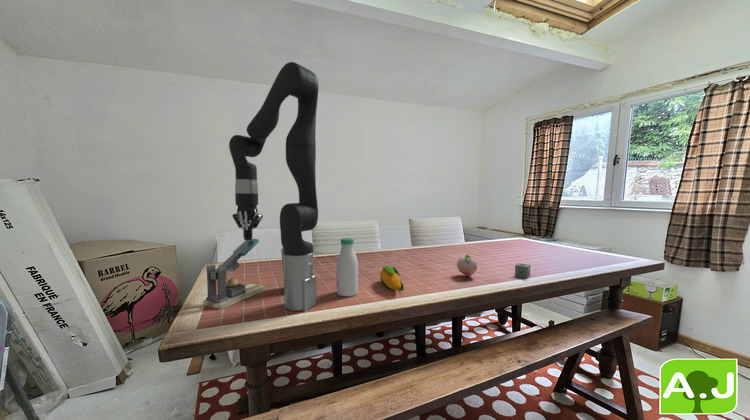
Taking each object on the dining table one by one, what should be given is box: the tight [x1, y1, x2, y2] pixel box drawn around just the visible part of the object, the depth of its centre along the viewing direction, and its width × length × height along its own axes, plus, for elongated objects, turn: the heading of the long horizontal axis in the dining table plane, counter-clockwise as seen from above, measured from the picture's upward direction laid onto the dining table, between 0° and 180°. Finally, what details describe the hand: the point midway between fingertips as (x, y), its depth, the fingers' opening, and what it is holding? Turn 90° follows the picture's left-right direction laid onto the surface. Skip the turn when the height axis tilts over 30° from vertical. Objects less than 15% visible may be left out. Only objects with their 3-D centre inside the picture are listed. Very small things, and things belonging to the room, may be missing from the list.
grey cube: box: [514, 262, 531, 279], centre depth 124 cm, size 5×5×5 cm
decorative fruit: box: [456, 253, 478, 278], centre depth 123 cm, size 9×8×10 cm
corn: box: [379, 265, 404, 292], centre depth 109 cm, size 7×8×20 cm
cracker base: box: [202, 264, 267, 310], centre depth 98 cm, size 8×19×13 cm, turn 157°
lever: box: [210, 238, 260, 281], centre depth 98 cm, size 5×17×11 cm, turn 157°
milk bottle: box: [336, 237, 359, 297], centre depth 102 cm, size 8×8×20 cm
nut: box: [226, 277, 239, 289], centre depth 97 cm, size 4×4×4 cm
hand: (247, 239), depth 103 cm, fingers closed
